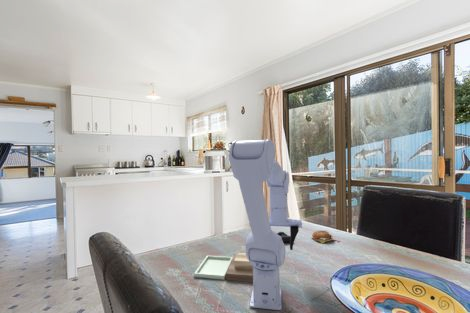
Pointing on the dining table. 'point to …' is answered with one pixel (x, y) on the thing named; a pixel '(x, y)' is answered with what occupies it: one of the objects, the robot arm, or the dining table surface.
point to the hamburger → (322, 236)
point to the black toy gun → (284, 237)
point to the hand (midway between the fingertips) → (279, 248)
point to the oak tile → (242, 261)
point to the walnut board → (239, 273)
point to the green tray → (213, 267)
